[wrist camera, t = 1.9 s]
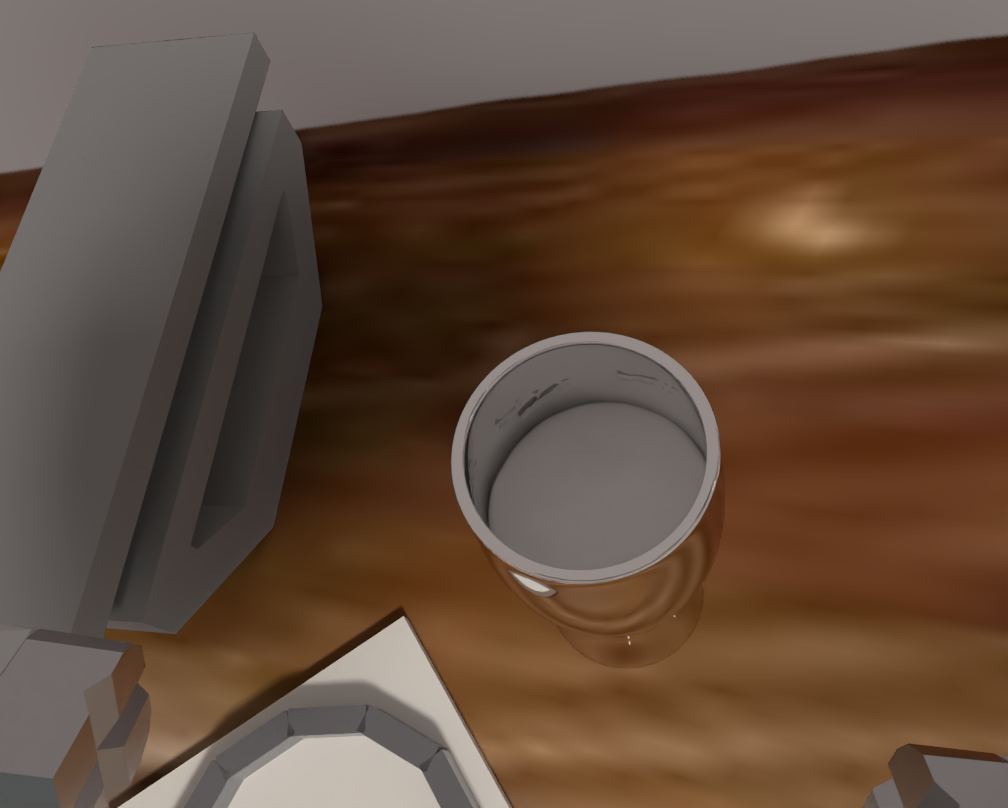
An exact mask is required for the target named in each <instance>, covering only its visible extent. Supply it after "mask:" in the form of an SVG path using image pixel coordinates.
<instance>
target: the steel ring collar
mask: <svg viewBox="0 0 1008 808" xmlns="http://www.w3.org/2000/svg"><path fill="white" fill-rule="evenodd" d="M348 736H366V737H368V738H370V739H371V740H373V741H374V742H376V743H378V744H379V745H381V746H383V747H384V748H386V749H387V750H389V751H391V752H392V753H394V754H396V755H397V756H399V757H401V758H402V759H404V760H405V761H407V762H409V763H410V764H412V765H414V766H415V767H417V768H418V769H420V770H421V771H422V773H423V775H424V776H425V778H426V780H427V782H428V784H429V786H430V788H431V790H432V792H433V794H434V796H435V798H436V800H437V802H438V804H439V806H440V808H480V806H479V804H478V802H477V800H476V798H475V797H474V795H473V793H472V791H471V789H470V787H469V785H468V783H467V782H466V780H465V778H464V776H463V774H462V772H461V770H460V768H459V767H458V765H457V763H456V761H455V759H454V757H453V755H452V754H451V752H450V751H446V750H447V748H446V747H444V746H443V745H441V744H439V743H438V742H436V741H434V740H433V739H431V738H429V737H427V736H426V735H424V734H422V733H421V732H419V731H417V730H416V729H414V728H412V727H411V726H409V725H407V724H406V723H404V722H402V721H401V720H399V719H397V718H395V717H394V716H392V715H390V714H389V713H387V712H385V711H384V710H382V709H380V708H377V707H374V706H371V705H367V704H362V705H345V706H327V707H309V708H291V709H289V711H287V710H284V711H283V712H281V713H280V714H278V715H277V716H275V717H274V718H272V719H271V720H269V721H268V722H266V723H265V724H263V725H262V726H260V727H259V728H257V729H256V730H254V731H253V732H251V733H250V734H248V735H247V736H245V737H244V738H242V739H241V740H239V741H238V742H236V743H235V744H233V745H232V746H231V747H229V748H228V749H226V750H225V751H223V752H222V753H220V754H219V755H217V756H216V757H215V758H216V760H217V761H215V760H212V761H211V763H210V764H209V766H208V768H207V770H206V771H205V773H204V775H203V776H202V778H201V780H200V781H199V783H198V785H197V786H196V788H195V790H194V792H193V793H192V795H191V797H190V798H189V800H188V802H187V803H186V805H185V807H184V808H228V806H229V804H230V803H231V801H232V799H233V797H234V796H235V794H236V792H237V790H238V789H239V787H240V785H241V784H242V782H243V780H244V779H245V778H247V777H248V776H250V775H251V774H253V773H254V772H256V771H257V770H258V769H260V768H261V767H263V766H264V765H266V764H267V763H269V762H270V761H272V760H273V759H275V758H276V757H278V756H279V755H281V754H282V753H284V752H285V751H287V750H288V749H290V748H291V747H292V746H294V745H295V744H297V743H298V742H300V741H301V740H303V739H307V738H328V737H348Z"/></svg>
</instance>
